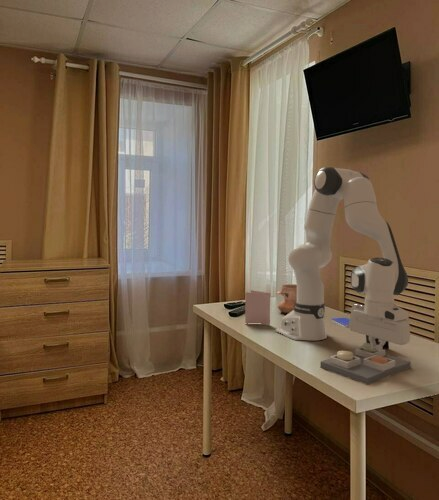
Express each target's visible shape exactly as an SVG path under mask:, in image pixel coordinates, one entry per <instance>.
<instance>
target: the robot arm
mask: <svg viewBox="0 0 439 500" xmlns="http://www.w3.org/2000/svg"><path fill="white" fill-rule="evenodd" d="M372 183H373V182H371V180H370V178H369V177H368V176H367V174H365V173H362V172H359V171H355V170H352V169H348V168H338V167H334V166H333V167H332V166H326V167H322V168H320V169H319V170H318V171H317V173H316V175H315V176H314V181H313V184H314V191H313V193H312V196H311V199H310V202H309V206H308V209H307V213H306V217H305V222H304V230H305V235H306V236H305V243H304V244H299V245H297V246H296V247H294V248H293V249H291V250H290V252H289V254H288V262H289V263H288V264H289V265H290V266H291V268H292V271H293V272H294V276H295V277H294V278H295V282H296V283H295V284H296V285H297V302H296V303H292V304H294V305H292V306H294V309H293V311H291V312H290V313H289V314H286V315H284V316H283V317H282V319H281V323H280V326H277V327H276V328H275V332H276V333H278V332H279V334H280V333H281V334H280V335H282V334H283V336H285V337H287V338H289V339H292V340H295V341H321V340H322V341H323V340H325V339H327V338H328V335H327V331H326V325H325V316H324V315H325V311H326V309H325V307H326V306H325V304H326V303H324V302H325V285H324V283H323V281H322V279H321V274H320V269H322V268H324V267H326V266H327V265H328V264H329V263H330V262H331V261H332V258H333V253H332V252H333V251H332V250H331V243H332V232H333V227H334V222H335V219H336V215H337V210H338V206H339V203H340V202H341V201H343V207H344V208H343V209H344V216H345V222H346V224H347V226H349V228H351V230H353V231H354V232H357V233H359V234H362V235H363V236H367V237H369V238H371V239H373V240H374V241H376V242H377V243H378V245H379V248H380V251H381V254H382V257H371V258H369V259H368V261H367V263H365V264H363V265H357V266H356V267H354V268H353V270H352V271H351V273H350V286H351V288H352V289H353V290H354V291H355V292H356V293H359V294H365V297H364V305H363V304H358V303H355V304H354V305H352V306H351V309H350V316H349V319H350V321H349V327H348V328H349V330H350V331H352V332H354V333H358V334H361V335H363V336H364V335H365V336H366V335H367V336H369V341H370V343H371V350H374V351H377V352H382V349H383V346H384V344H385V343H386V341H388V342H389V343H392V344H395V345H399V346H405V345H407V344H408V343H410V341H411V325H410V322H409V321H408V318H409V317H410V313H409V312H408V311H407V310H405V309H403V308H402V307H399V306H398V305H397V304H395V297H394V296H399V295H400V294H402V293H403V292H404V291H405V290H406V289H407V287H408V284H409V275H408V273H407V271H406V269H405V268H404V265H403V262H402V259H401V256H400V254H399V250H398V247H397V243H396V240H395V237H394V233H393V231H392V228H391V226H390V224H389V222H388V221H386V220H384V218H383V217H382V215H381V214H380V212H379V209H378V202H377V198H376V193H375V190H374V186H373V184H372ZM409 319H410V318H409ZM376 338H378V339H379V342H380V343H379V345H377V344H376V342H375V339H376Z"/></svg>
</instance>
